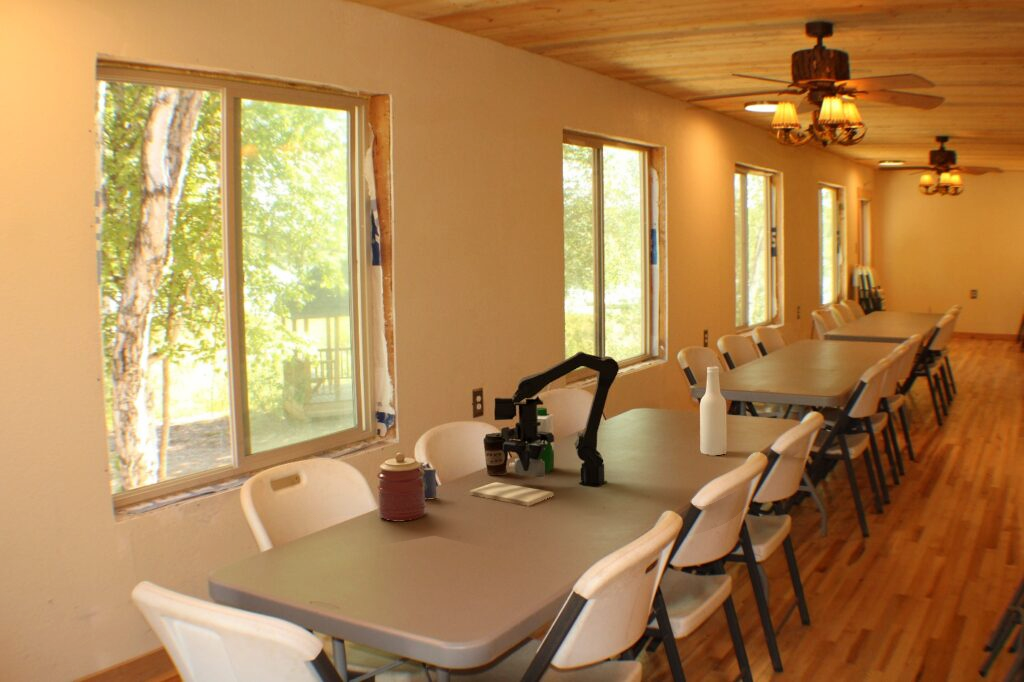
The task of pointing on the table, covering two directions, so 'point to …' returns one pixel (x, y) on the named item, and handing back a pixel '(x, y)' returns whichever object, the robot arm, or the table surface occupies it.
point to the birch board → (511, 493)
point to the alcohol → (713, 416)
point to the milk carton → (549, 449)
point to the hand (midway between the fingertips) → (529, 469)
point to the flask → (429, 481)
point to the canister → (401, 489)
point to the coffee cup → (495, 454)
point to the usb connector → (529, 468)
